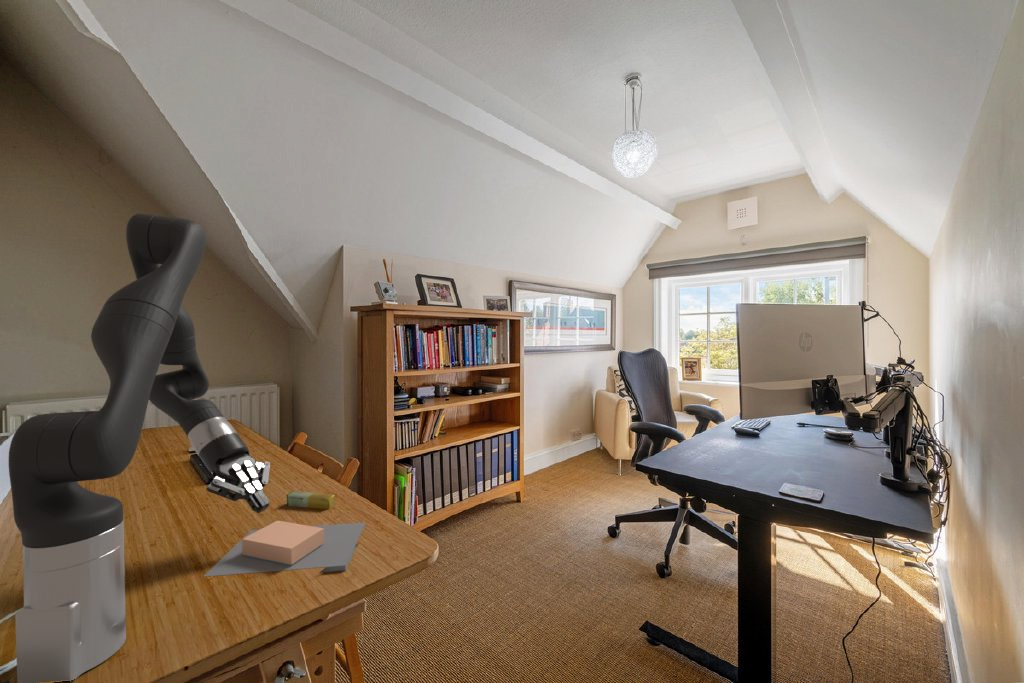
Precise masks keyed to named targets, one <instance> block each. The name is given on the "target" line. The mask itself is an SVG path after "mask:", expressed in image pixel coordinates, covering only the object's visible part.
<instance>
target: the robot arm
mask: <svg viewBox="0 0 1024 683" xmlns="http://www.w3.org/2000/svg"><path fill="white" fill-rule="evenodd" d="M125 228H126V230H125V240H126V245H127V249H128V250H127V251H128V254H129V257H130V261H131V264H132V268H133V270H134V271H133V272H134V275H135V277H136V280H134V281H132V282H130V283H128V284H126V285H124V286H123V287H121V288H120V289H118V290H117V291H115V292H114V293H113V294H112V295H110V297H108V298H107V300H106V301H105V303H104V304H103V306H102V308H101V310H100V312H99V314H98V316H97V318H96V320H95V322H94V324H93V327H92V329H91V333H90V338H91V343H92V346H93V349H94V351H95V353H96V355H97V357H98V358H99V361H100V362H101V364H102V366H103V367H104V369H105V371H106V374H107V375H108V378H109V381H110V382H109V383H110V385H109V390H108V391H109V392H108V394H107V397H106V400H105V402H104V404H103V405H102V407H101V408H100V409H98V410H88V411H86V410H85V411H84V410H83V411H70V412H69V411H68V412H67V411H66V412H50V413H44V414H43V413H41V414H37V415H34V416H31V417H30V418H28V419H26V420H24V421H23V422H22V423H21V424H20V425H19V426H18V427H17V428H16V431H15V433H14V434H13V436H12V438H11V440H10V444H9V445H10V446H9V449H8V475H9V482H10V490H11V499H12V500H11V501H12V508H13V518H14V523H15V525H16V527H17V528H18V530H19V532H20V533H21V540H22V541H21V544H22V578H23V580H22V582H23V585H22V586H23V607H21V608H20V609H19V610H17V611H16V612H15V614H14V617H15V640H16V641H15V644H16V645H15V647H16V652H15V653H16V679H17V681H16V682H17V683H38V682H39V683H40V682H50V681H61V680H69V681H70V682H72V681H71V680H73V681H75V680H76V679H77V678H78V677H79V676H81V675H82V674H84V673H85V672H87V671H89V670H91V669H93V668H95V667H97V666H99V665H100V664H102V663H104V662H105V661H106V660H109V658H111V657H112V656H113V655H114V654H116V653H117V652H118V651H119V650H120V649H121V648H122V646H123V645H124V643H125V642H126V640H127V628H126V627H127V625H126V624H127V623H126V621H127V620H126V618H127V617H126V588H125V587H126V578H125V577H126V576H125V531H124V530H125V529H124V528H125V527H124V523H125V522H124V505H123V502H122V501H121V500H120V499H118V498H117V497H114V496H111V495H104V494H101V493H97V492H93V491H91V490H88V489H87V488H85V487H83V486H82V485H80V484H79V482H85V481H96V480H104V479H110V478H114V477H116V476H118V475H120V474H121V473H123V472H124V471H125V470H126V469H127V468H128V467H129V465H130V464H131V462H132V460H133V458H134V456H135V454H136V451H137V449H138V445H139V441H140V437H141V434H142V431H143V426H144V422H145V417H146V413H147V409H148V404H149V402H150V403H151V404H152V405H154V406H155V407H156V408H157V409H158V410H159V411H161V412H163V413H164V414H166V415H167V416H168V417H170V418H171V419H172V420H173V421H175V422H177V424H178V425H179V426H180V428H181V429H182V431H183V432H184V434H185V435H186V436H187V438H188V440H189V443H190V444H191V446H192V448H193V450H194V451H195V453H196V454H197V456H198V457H199V459H201V462H202V463H203V464H204V466H205V467H206V469H207V470H208V472H210V473H212V474H211V475H212V478H213V479H212V481H211V482H210V484H208V485H207V487H206V489H205V490H206V491H207V492H208V493H211V494H214V495H217V496H219V497H222V498H225V499H228V500H230V501H234V502H237V501H238V500H243V501H246V503H247V505H249V507H250V508H251V510H252V511H253V512H256V514H260V513H262V512H264V511H266V510H267V509H268V507H269V506H270V499H269V498H268V497H267V495H266V494H265V492H264V491H263V489H264V488H265V487H266V486H267V485H268V484H269V476H270V471H271V470H270V468H271V463H270V462H269V461H267V460H266V461H264V462H258V461H257V459H256V458H254V457H253V456H251V454H250V453H249V452H250V450H249V447H248V446H247V445H246V443H245V442H244V440H243V439H242V438H241V436H240V434H238V432H237V430H236V429H235V428H234V426H233V425H232V424H231V423H230V421H228V420H227V419H226V417H225V416H224V415H223V413H222V412H221V410H220V409H219V407H217V404H215V403H214V402H213V401H212V400H210V399H206V398H205V399H200V398H202V397H203V396H205V395H206V393H208V390H209V387H210V381H209V378H208V376H207V374H206V372H205V369H204V368H203V366H202V364H201V361H200V358H199V355H198V352H197V343H196V331H195V324H194V322H193V319H192V317H191V315H190V314H189V313H188V311H187V309H186V308H185V307H184V306H183V305H182V304H183V300H184V298H185V295H186V293H187V291H188V288H189V286H190V284H191V282H192V281H193V278H194V276H195V275H196V272H197V271H198V270H199V267H200V265H201V263H202V260H203V258H204V256H205V251H206V248H207V247H206V246H207V236H206V233H205V232H206V231H205V230H204V228H203V227H202V225H200V224H199V223H198V222H196V221H194V220H191V219H188V218H183V217H182V218H181V217H172V216H166V215H157V214H150V213H149V214H148V213H136V214H134V215H133V214H132V216H131V217H130V218H129V220H128V222H127V223H126V227H125ZM159 265H160V266H159ZM160 365H164V366H182V369H179V370H178V369H177V370H173V371H169V372H164V373H160V374H157V373H158V370H159V367H160ZM74 679H75V680H74Z"/></svg>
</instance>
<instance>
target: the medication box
mask: <svg viewBox="0 0 1024 683" xmlns="http://www.w3.org/2000/svg"><path fill="white" fill-rule="evenodd" d="M335 496H336V494H330V493H329V494H328V493H318V492H307V491H306V492H305V491H297V490H296V491H295V490H292V491H291V492H289V493H288V494H286V506H287V507H297V508H311V509H321V510H330V509H332V508H333V507H334V506H336V502H335V500H336V497H335Z"/></svg>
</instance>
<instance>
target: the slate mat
mask: <svg viewBox="0 0 1024 683" xmlns="http://www.w3.org/2000/svg"><path fill="white" fill-rule="evenodd" d="M366 524H367V522H355V523H354V522H353V523H351V522H350V523H338V524H336V523H335V524H323V525H312V526H313V527H318V528H324V543H323V544H322V546H320V547H319V548H317V549H316V550H314V551H313V552H311V553H310V554H308V555H307V556H305V557H304V558H302V559H301V560H299V561H298V562H296V563H295V564H293V565H292V566H291V565H286V564H282V563H277V562H272V561H267V560H262V559H258V558H253V557H248V556H244V555H242V539H241V540H240V541H239V542H238V543H237V544H235V545H234V547H232V548H231V549H230V550H229V551H228V552H227V553H226V554H225V555H223V557H222V558H221V559H220V560H218V561H217V563H215V564H214V565H213V566H212V567H211V569H209V570H208V571H207V572H206V573H205V574H204V575H203V576H202V577H203V578H205V577H207V578H208V577H219V576H230V575H243V574H256V573H257V574H258V573H269V572H280V571H281V572H282V571H283V572H285V571H293V570H294V571H295V570H305V569H306V570H308V569H317V568H318V569H320V568H323V569H322V570H321V571H319V572H318V573H319V574H320V573H321V574H322V573H334V572H345V571H346V570H347V568H348V566H349V564H350V562H351V560H352V558H353V556H354V554H355V551H356V549H357V548H358V545H359V543H358V541H359V538H360V537H361V534H362V532H363V530H364V528H365V526H366ZM260 529H261V528H260ZM260 529H251V530H250V531H249V532H248V533H247V534H246V535H245V536H244V537H243V538H245V537H247V536H249V535H251V534H253V533H255V532H256V531H258V530H260Z"/></svg>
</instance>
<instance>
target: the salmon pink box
mask: <svg viewBox="0 0 1024 683" xmlns="http://www.w3.org/2000/svg"><path fill="white" fill-rule="evenodd" d="M313 526H314V525H306V524H300V523H295V522H289V521H284V520H283V521H282V520H275V521H274V522H272V523H270V524H268V525H266V526H264V527H263V528H260V530H259V529H257V530H258V531H256V532H255V533H253V534H251V535H249V536H247V537H245V536H244V537H245V538H244V537H242V539H241V540H242V555H244V556H248V557H253V558H258V559H262V560H267V561H272V562H277V563H282V564H286V565H291V566H292V565H293V564H295V563H296V562H298V561H299V560H301V559H302V558H304V557H305V556H307V555H308V554H310V553H311V552H313V551H314V550H316V549H317V548H319V547H320V546H322V544H323V543H324V528H318V527H313Z"/></svg>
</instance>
